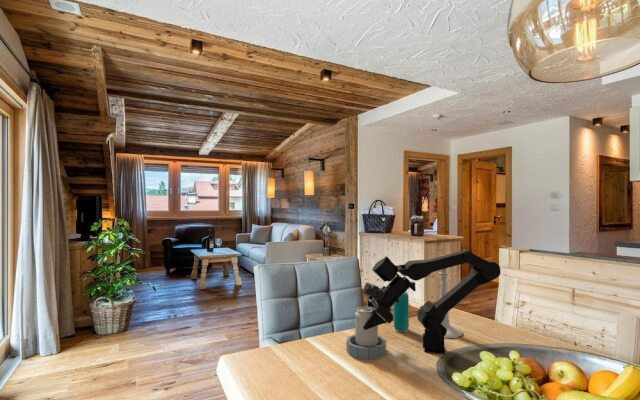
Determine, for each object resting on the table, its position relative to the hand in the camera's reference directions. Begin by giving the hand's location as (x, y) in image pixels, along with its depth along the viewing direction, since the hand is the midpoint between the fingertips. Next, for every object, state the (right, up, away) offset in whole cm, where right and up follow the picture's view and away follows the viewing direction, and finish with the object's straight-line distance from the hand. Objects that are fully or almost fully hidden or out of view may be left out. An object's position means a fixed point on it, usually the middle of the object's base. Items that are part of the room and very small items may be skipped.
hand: (362, 324), depth 118 cm
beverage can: (+18, -9, +19) cm, 27 cm away
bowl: (+1, -9, 0) cm, 9 cm away
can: (+1, -7, 0) cm, 7 cm away
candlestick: (+33, -9, +16) cm, 38 cm away
